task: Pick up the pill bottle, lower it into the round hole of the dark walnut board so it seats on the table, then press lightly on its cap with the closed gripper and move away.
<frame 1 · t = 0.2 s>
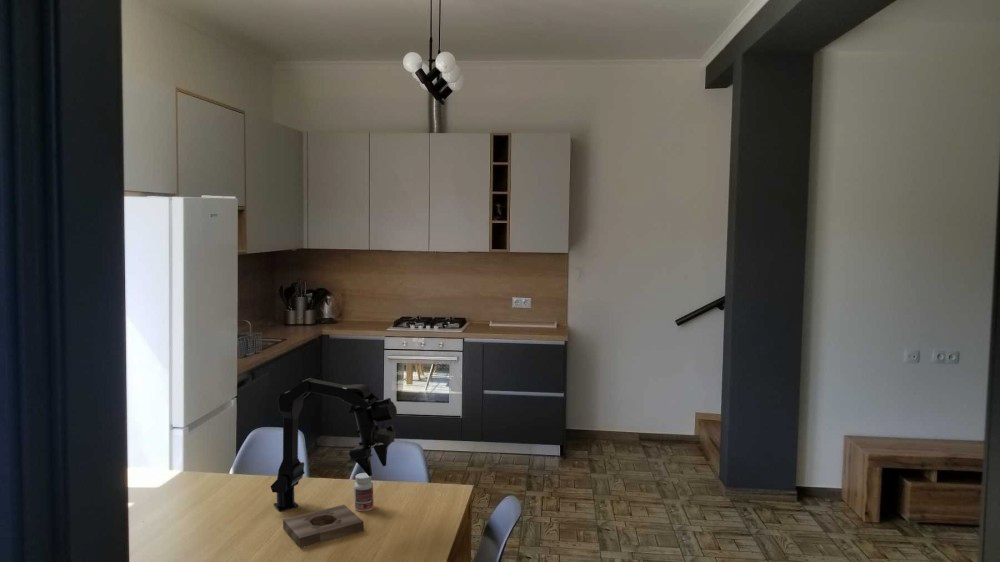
hand: (377, 470, 222), 15 cm above the table, tool pointing down, fingers open, 9 cm apart
pill bottle: (364, 509, 230), on the table
socket board: (323, 529, 214), on the table
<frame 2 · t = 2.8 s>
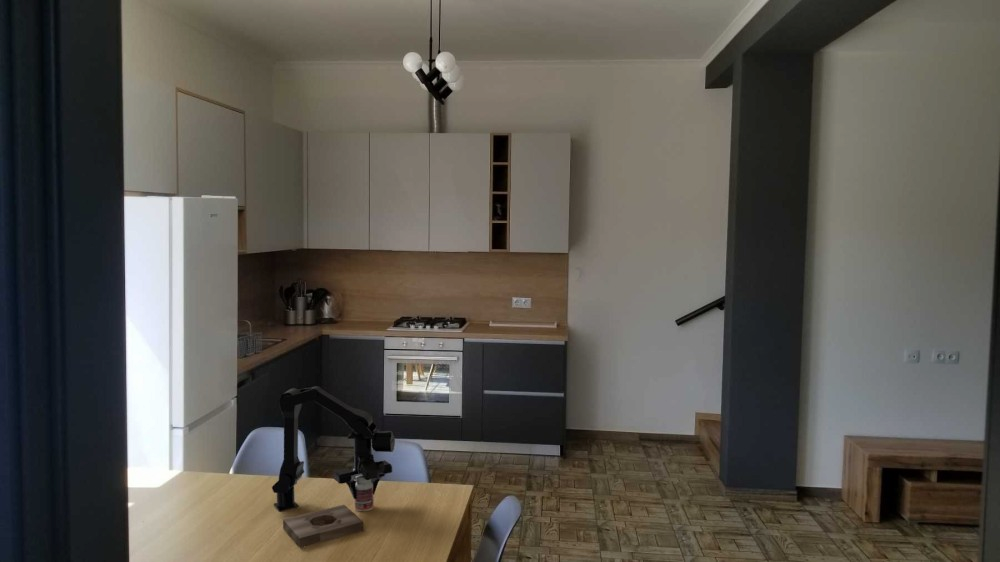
hand: (363, 496, 230), 4 cm above the table, tool pointing down, fingers closed on pill bottle, 6 cm apart
pill bottle: (364, 508, 230), on the table, touching gripper
when the fingers open (5 cm above the table, at t = 8.3 s): pill bottle drops 1 cm, resting in socket board.
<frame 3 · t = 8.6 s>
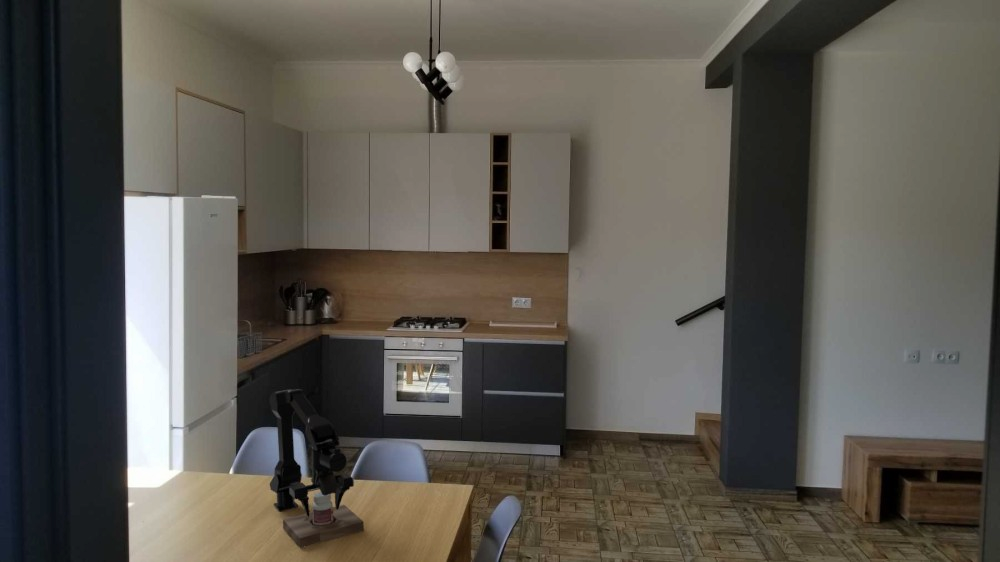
hand: (322, 512, 213), 5 cm above the table, tool pointing down, fingers open, 9 cm apart
pill bottle: (323, 530, 214), resting in socket board
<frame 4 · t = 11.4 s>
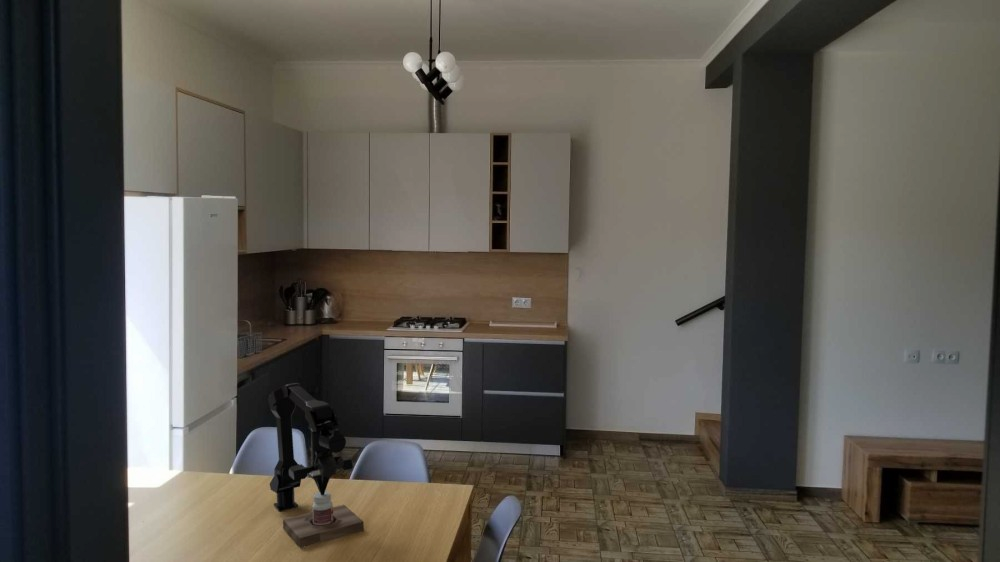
hand: (322, 494, 213), 11 cm above the table, tool pointing down, fingers closed, pressing on pill bottle
pill bottle: (323, 530, 214), resting in socket board, touching gripper
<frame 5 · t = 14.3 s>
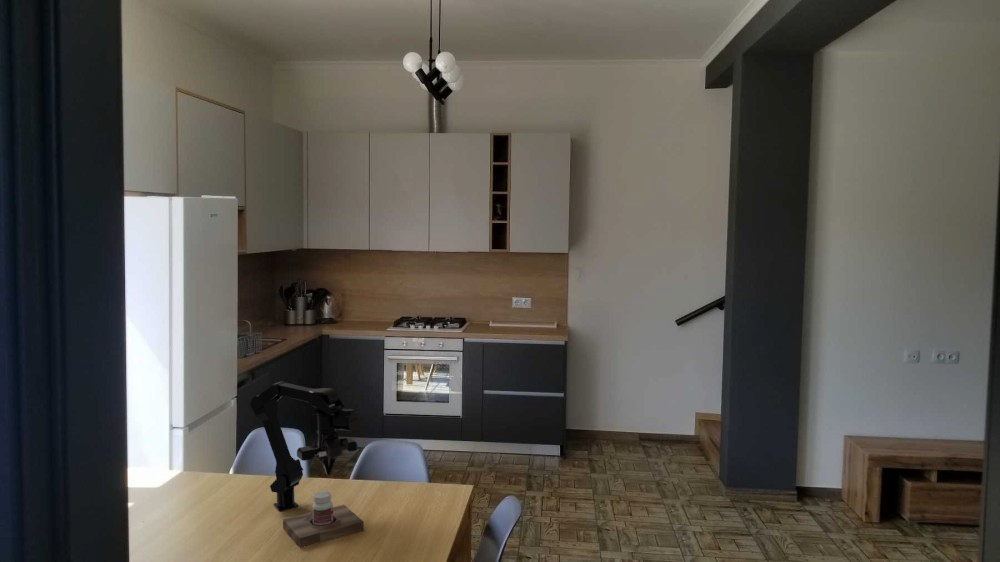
hand: (328, 474, 225), 13 cm above the table, tool pointing down, fingers closed
pill bottle: (323, 530, 214), resting in socket board
at the end: pill bottle 0.1 cm from the socket board (horizontally); pill bottle resting in socket board; pill bottle tilted 0° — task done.
